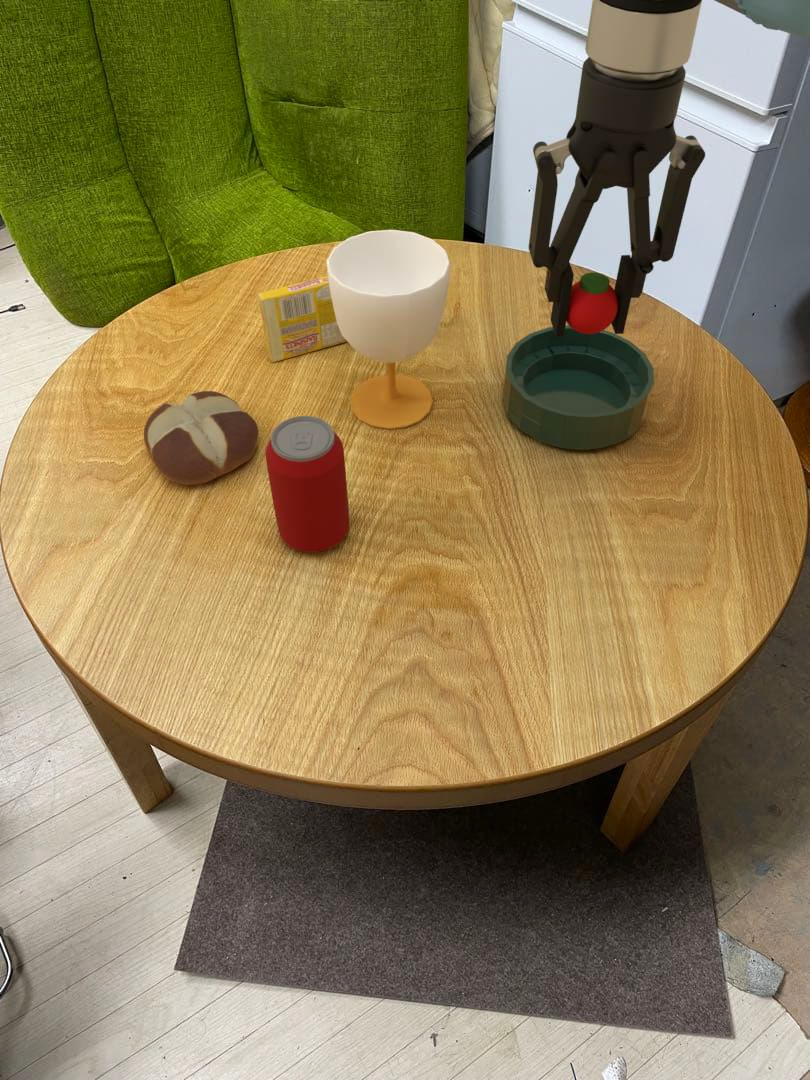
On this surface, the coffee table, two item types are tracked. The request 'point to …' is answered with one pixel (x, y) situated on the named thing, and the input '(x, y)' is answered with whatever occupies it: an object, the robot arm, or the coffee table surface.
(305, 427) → the beverage can
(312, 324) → the candy box
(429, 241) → the cup
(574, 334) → the bowl
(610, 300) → the tomato
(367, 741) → the coffee table surface
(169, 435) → the bread
